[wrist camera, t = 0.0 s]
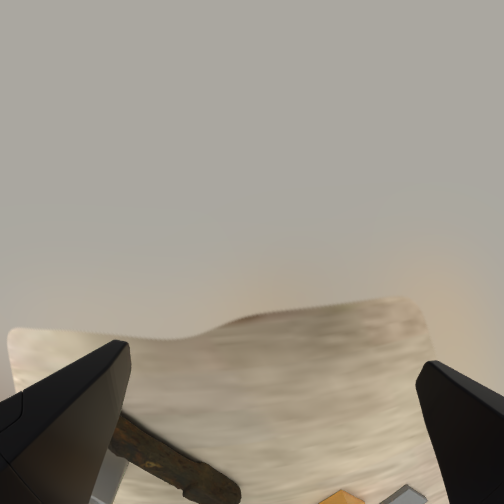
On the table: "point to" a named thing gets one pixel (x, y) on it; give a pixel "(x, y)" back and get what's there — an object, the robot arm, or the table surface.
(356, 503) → the orange foam cube
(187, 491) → the hand tool
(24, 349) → the table surface
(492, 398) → the robot arm
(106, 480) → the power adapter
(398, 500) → the grey base with peg
